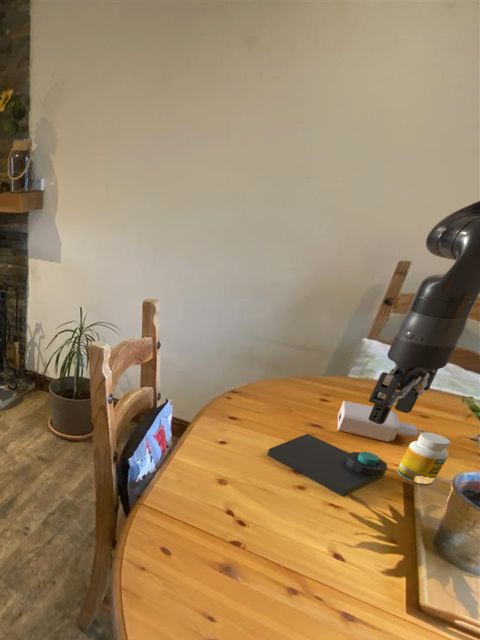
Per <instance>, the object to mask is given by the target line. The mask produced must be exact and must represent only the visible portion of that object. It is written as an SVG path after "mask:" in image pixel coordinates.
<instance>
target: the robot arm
mask: <svg viewBox="0 0 480 640" xmlns="http://www.w3.org/2000/svg"><path fill="white" fill-rule="evenodd" d="M425 247H426V249H427V251H428V252H429V253H431V254H432V255H433V256H436V257H439V258H443V259H448V260H452V261H454V263H453V265H452V266H451V267H450V268H449V270H447V272H445V273H441V274H432V275H429V276H427V277H424V279H423V280H422V281H421V282H420V283H419V285H418V288H417V290H416V292H415V294H414V296H413V299H412V301H411V303H410V305H409V307H408V310H407V312H406V313H405V314H404V317H403V318H402V320H401V321H400V323H399V326H398V328H397V330H396V333H395V335H394V337H393V340H392V342H391V344H390V346H389V350H388V351H387V353H386V355H387V358H388V360H390V361H392V362H394V364H395V365H394V368H392V369H391V370H390V371H389V372H386V371H383V372H381V373H380V375H379V376H378V377H379V378H378V379H377V382H376V384H375V386H374V388H373V391H372V393H371V395H370V397H369V398H368V402H369V403H372V404H374V405H373V406H372V407H373V409H372V411H371V413H370V416H369V420H370V421H372V422H375V423H377V424H383V423H385V421H386V419H387V417H388V415H389V412H390V410H392V407H394V409H395V410H396V411H399V412H401V413H404V414H408V413H411V412H412V410H413V409H414V407H415V404H416V402H417V400H418V398H419V397H420V396H422V395H423V394H424V391H425V392H427V391H429V390H430V389H431V386H432V384H433V381H434V379H435V377H436V375H437V373H438V371H439V370H440V369H443V368H445V367H446V366H447V365H448V363H449V361H450V359H451V357H452V355H453V353H454V352H455V349H456V347H457V345H458V343H459V341H460V339H461V337H462V335H463V333H464V331H465V329H466V325H467V322H468V319H469V316H470V314H471V313H472V311H473V309H474V307H475V305H476V302H477V301H478V298H479V296H480V200H479V201H476V202H474V203H471V204H468V205H467V206H464V207H462V208H460V209H458V210H455V211H453V212H452V213H450V214H448V215H447V216H445V217H444V218H443V219H441V220H439V222H437V223H436V224H435V225H434V226H433V228H431V230H430V231H429V232H428V234H427V237H426V240H425ZM394 405H395V406H394Z"/></svg>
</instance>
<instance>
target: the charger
mask: <svg viewBox="0 0 480 640" xmlns="http://www.w3.org/2000/svg"><path fill="white" fill-rule="evenodd" d="M373 407H374V406H371V405H367V404H362V403H357V402H353V401H352V402H351V401H349V400H348V401H347V400H343V401H342V404H341V407H340V409H339V411H338V413H337V431H340V432H343V433H348V434H351V435H352V434H353V435H356V436H361V437H366V438H369V439H374V440H378V441H382V442H387V443H389V442H393V441H394V440H395V438H396V436H397V435H398V436H402V437H406V438H410V439H416V438H417V435H419V436H420V434H422V433H428V431H427V430H425V429H419V428H417V425H416V424H413V423H408V422H405V421H399V417H398V414H397V412H395V411H394V410H392V409H391V410H390V412H389V415H388V417H387V419H386V421H385V423H383V424H377V423H375V422H372V421H370V420H369V416H370V413H371V411H372V409H373Z"/></svg>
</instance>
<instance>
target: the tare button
mask: <svg viewBox="0 0 480 640" xmlns="http://www.w3.org/2000/svg"><path fill="white" fill-rule="evenodd" d="M359 452H360V454H359V456H358V458H357V460H358V461H359V462H361V463H363V464H365V465H369V466H376V465H377V463H378V461H379V458H380V457H379V456H378V455H377V454H375V453H373V452H370V451H359Z"/></svg>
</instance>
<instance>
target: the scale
mask: <svg viewBox="0 0 480 640" xmlns="http://www.w3.org/2000/svg"><path fill="white" fill-rule="evenodd" d="M360 452H361V451H352V452H348V451H347V450H345V449H344V450H343V449H341V448H339V447H338V446H335V445H333V444H331V443H329V442H326V441H325V440H322V439H320V438H318V437H316V436H314V435H312V434H309V433H306V434H303V435H300V436H298V437H295V438H293V439H290V440H288V441H286V442H285V441H284V442H282V443H280V444H278V445H275V446H272V447H270V448H269V449H268V451H267V455H266V456H267V457H269V458H272V459H273V460H275V461H276V462H278V463H280V464H282V465H284V466H286V467H288V468H289V469H291V470H293V471H295V472H297V473H299V474H300V475H302V476H304V477H306V478H308V479H310V481H311V480H312V481H313V482H314V483H316V484H319V485H320V486H322V487H324V488H326V489H328V490H329V491H331V492H333V493H334V494H337V495H338V496H340V497H342V498H344V497H346V496H348V495H350V494H352V493H354V492H356V491H358V490H360V489H362V488H365V487H366V486H368V485H370V484H372V483H374V482H377V481H378V480H381V479H382V478H383V477H384V476H385V474H386V472H387V469H388V464H387V463H386V462H385V461H384V460H383V459H382V458H380V457H379V461H378V463H377V465H376V466H369V465H365V464H363V463H361V462H359V461H358V460H357V458H358V456H359V454H360Z"/></svg>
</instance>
